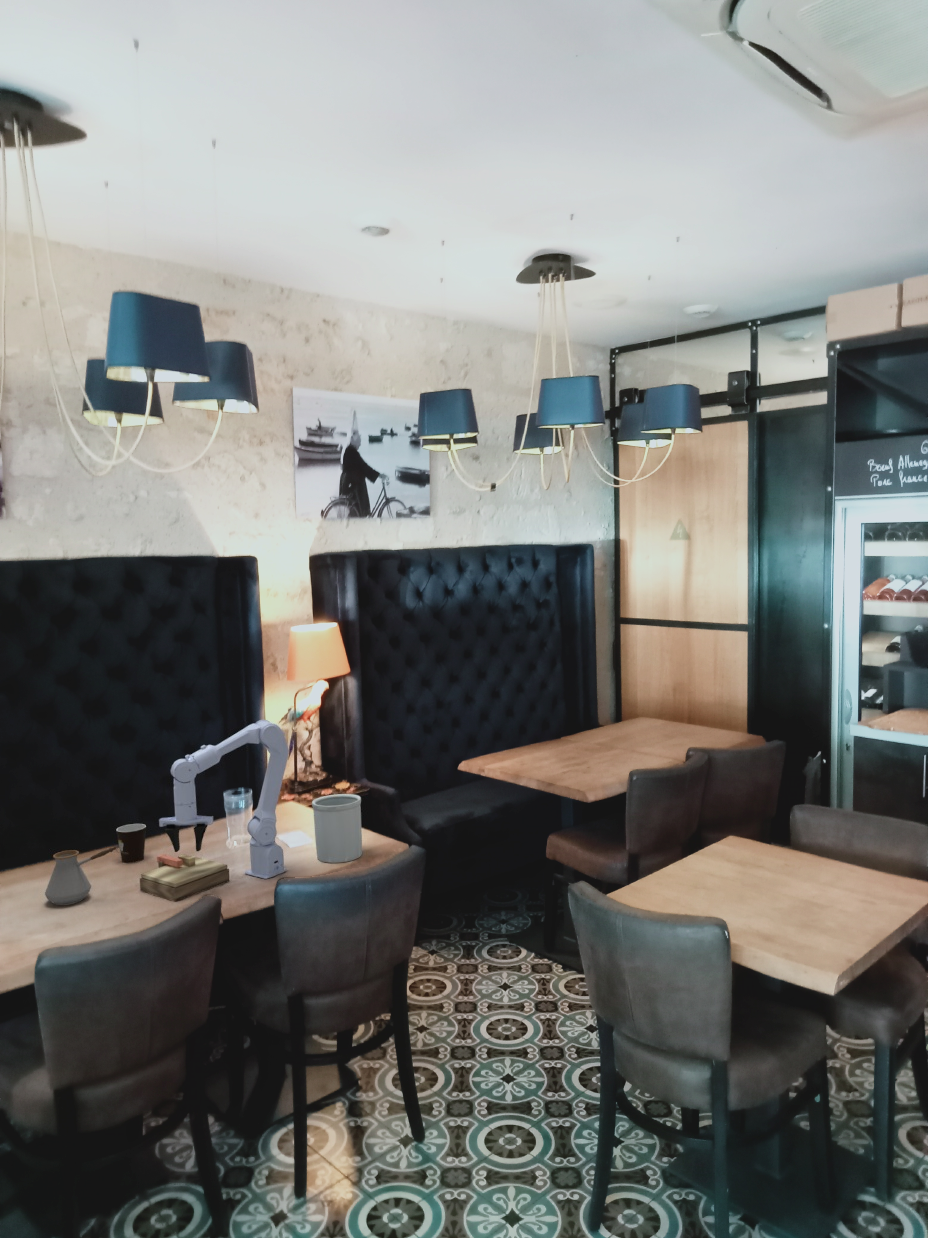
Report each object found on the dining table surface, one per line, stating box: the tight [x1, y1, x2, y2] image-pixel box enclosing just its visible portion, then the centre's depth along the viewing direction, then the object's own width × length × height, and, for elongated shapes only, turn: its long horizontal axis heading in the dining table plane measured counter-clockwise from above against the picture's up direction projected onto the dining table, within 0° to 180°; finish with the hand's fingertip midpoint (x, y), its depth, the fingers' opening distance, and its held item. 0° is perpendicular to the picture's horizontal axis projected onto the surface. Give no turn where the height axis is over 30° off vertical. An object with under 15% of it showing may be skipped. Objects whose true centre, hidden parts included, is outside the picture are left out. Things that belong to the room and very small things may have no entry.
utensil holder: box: [311, 793, 363, 864], centre depth 265 cm, size 15×15×18 cm
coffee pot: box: [44, 845, 122, 906], centre depth 235 cm, size 21×12×15 cm, turn 84°
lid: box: [140, 854, 228, 887], centre depth 244 cm, size 15×17×3 cm
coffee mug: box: [116, 823, 147, 864], centre depth 270 cm, size 12×9×10 cm
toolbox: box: [139, 861, 230, 902], centre depth 244 cm, size 18×18×6 cm
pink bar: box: [156, 853, 183, 867], centre depth 247 cm, size 9×2×2 cm, turn 54°
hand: (187, 850), depth 242 cm, fingers open, 5 cm apart
